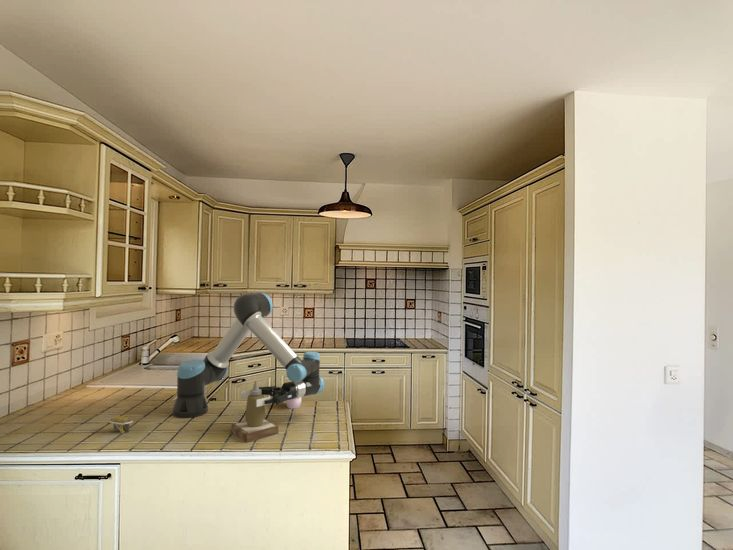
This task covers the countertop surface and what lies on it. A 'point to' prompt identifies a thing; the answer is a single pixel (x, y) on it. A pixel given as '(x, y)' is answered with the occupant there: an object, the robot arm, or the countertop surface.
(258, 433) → the picture frame
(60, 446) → the countertop surface
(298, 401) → the mushroom
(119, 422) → the platform
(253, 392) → the squeeze bottle
